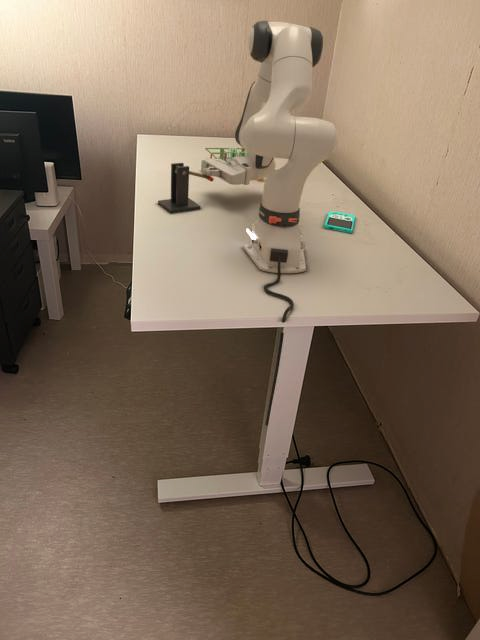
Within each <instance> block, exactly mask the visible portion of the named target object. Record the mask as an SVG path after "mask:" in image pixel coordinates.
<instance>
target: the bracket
mask: <svg viewBox="0 0 480 640" xmlns="http://www.w3.org/2000/svg"><path fill="white" fill-rule="evenodd" d="M176 165H177V166H181V167H177V173H175V168H176ZM189 171H190V166H189V165H186V166H185V163H183V162H176V163H175V162H173V163H171V164H170V198H167V199H161V200H157V204H158V205H159V206H160V207H162V208H163V209H164V210H165V211H166V212H168V213H169V214H177V213H178V214H179V213H185V212H191V211H197V210H198V211H199V210H201V205H200V204H198V203H197V202H195V201H194V200H193V199H191V198H190V197H189V188H190V187H189V186H190V184H189V183H190V174H189Z"/></svg>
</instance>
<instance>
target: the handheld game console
mask: <svg viewBox="0 0 480 640" xmlns="http://www.w3.org/2000/svg"><path fill="white" fill-rule="evenodd" d="M355 221H356V215H355V214H350V213H346V212H340V211H329V212H328V214H327V217H326V220H325V222H324V226H323V228H324V229H326V230H331V231H337V232H341V233H346V234H353V229H354V226H355V225H354V224H355Z"/></svg>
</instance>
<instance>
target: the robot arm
mask: <svg viewBox="0 0 480 640" xmlns="http://www.w3.org/2000/svg"><path fill="white" fill-rule="evenodd" d="M247 43H248V44H247V45H248V51H249V55H250V57H251V59H252V60H254V61H255V62H258V63H259V65H258V70H257V76H256V79H255V80H254V81H253V82H252V84H251V85H250V87H249V90H248V94H247V96H246V99H245V103H244V107H243V110H242V115H241V117H240V121H239V123H238V125H237V127H236V129H235V132H234V139H235V142H236V143H237V145H239V146H240V148H244V149H245V150H246V151H245V152H246V153H247V154H245V155H246V156H243V157H237V156H236V157H232V156H231V157H232V158H230V157H229V158H228V160H229V161H228V160H227V161H228V162H227V161H224V159H223V160H222V158H218V159H216V158H215V159H214V158H212V159H210V158H204V159H202V160H203V161H202V162H203V163H202V165H203V172H202V174H205V175H207V176H211V177H217V178H219V179H221V180H222V181H224V182H225V183H227V184H229V185H232V186H233V185H234V186H236V185H237V186H238V185H239V186H240V185H244V186H248V185H250V181H255V180H258V179H263V178H264V184H263V191H262V199H261V203H260V204H259V208H258V218H257V219H256V220H255V221H254V222H252V226H251V230H250V229H249V228H246V233H247V235H249V243H246V244H244V246H243V250H244V252H245V253H246V254H247V255H248V256H249V258H250V259H251V260H252V261H253V263H254V264H255V265H256V267H257V269H259V270H260V271H263V272H267V273H271V274H273V273H274V274H277V278H276V280H275V281H273V282H271V283H266V284H264V286H263V289H264V291H265V292H266V293H267V294H268V295H269V294H270V295H272V296H276V297H278V298H282V299H284V300H286V301H288V302H289V304H290V305H289V306H288V307H287V308H286V309H285V310H284V312H283V315H282V317H281V323H286V318H287V315H288V313H289V312H290V310H292V309H293V308H294V306H295V304H294V301H293V299H291V298H290V297H289V296H287V295H285V294H282V293H278V292H275V291H272V290H270V289H269V288H270V287H272V286H276V285H277V284H278V283H279V282H280V281H281V274H298V273H299V274H300V273H304V272H306V270H307V264H306V258H305V251H304V250H305V249H306V247H307V243H306V242H307V241H305V240H301V238H303V236H304V232H301V224H300V218H301V209H300V204H301V203H300V202H301V199H302V195H303V191H304V188H305V184H306V182H307V179H308V178H309V176H310V175H311V173H312V172H313V171H314V170H315V169H316V168H317V167H318V166H319V165H320V164H321V163H323V162H325V161H326V160H328V159H329V158H331V156H332V155H333V154H334V152H335V151H336V149H337V146H338V142H339V141H338V140H339V137H338V135H339V134H338V131H337V128H336V127H335V125H334V123H333V122H330V121H328V120H324V119H321V118H318V117H310V116H309V117H308V116H297V115H292V114H291V112H293V111H296V110H298V109H300V108H302V107H303V106H304V105H306V104H307V103H308V102H309V100H310V99H311V97H312V93H313V68H315V67H316V66H317V65H318V64H319V62H320V60H321V58H322V55H323V52H324V36H323V34H322V32H321V31H320V30H319V29H317V28H315V27H312V26H309V27H308V26H305V25H304V26H303V25H300V24H295V23H291V22H287V21H286V22H285V21H268V20H260V21H256V22H255V23H254V24H253V25H252V28H251V30H250V32H249V35H248V39H247ZM263 104H264V106H263ZM275 159H284V160H287V162H286V163H285V164H284V165H283V166H282V167H280V168H278V169H276V166H277V165H276V164H277V163H276V160H275ZM284 335H285V332H280V335H279V345H278V351H277V357H276V362H275V370H274V376H273V379H272V380H273V381H272V387H271V391H270V392H271V393H270V397H269V402H268V407H267V414H266V419H265V424H264V425H265V426H266V427H267V426H269V423H270V416H271V411H272V405H273V401H274V396H275V392H276V391H275V390H276V385H277V380H278V375H279V368H280V363H281V356H282V349H283V343H284Z"/></svg>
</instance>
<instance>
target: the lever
mask: <svg viewBox="0 0 480 640" xmlns="http://www.w3.org/2000/svg"><path fill="white" fill-rule="evenodd" d="M177 167H181V166H177V165H176V168H175V173H177ZM189 176H194V177H199V178H203V179H206V180H208V181H209V182H214V177H213V176H207V175H205V174H203V173H199V172H195V171H192V170H189Z"/></svg>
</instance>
